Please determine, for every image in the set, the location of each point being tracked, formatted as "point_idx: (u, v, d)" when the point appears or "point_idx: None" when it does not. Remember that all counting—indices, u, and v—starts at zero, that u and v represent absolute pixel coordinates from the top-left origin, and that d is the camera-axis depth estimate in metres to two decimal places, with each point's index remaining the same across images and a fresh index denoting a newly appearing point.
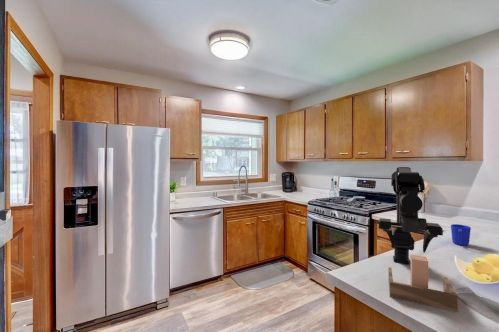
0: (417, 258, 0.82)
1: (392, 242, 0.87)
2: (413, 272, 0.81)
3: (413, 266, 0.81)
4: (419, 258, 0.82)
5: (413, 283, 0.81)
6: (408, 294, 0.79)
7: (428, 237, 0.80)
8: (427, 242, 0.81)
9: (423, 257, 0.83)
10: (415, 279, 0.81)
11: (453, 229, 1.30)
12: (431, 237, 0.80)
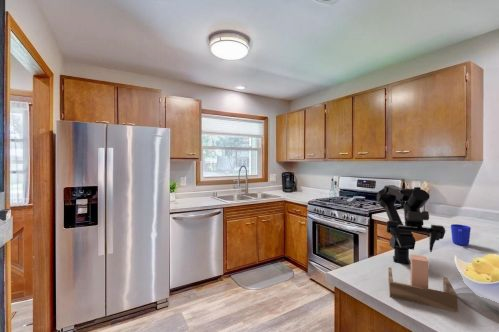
0: (417, 258, 0.82)
1: (400, 240, 0.92)
2: (413, 272, 0.81)
3: (413, 266, 0.81)
4: (419, 258, 0.82)
5: (413, 283, 0.81)
6: (408, 294, 0.79)
7: (432, 234, 0.88)
8: (432, 240, 0.88)
9: (423, 257, 0.83)
10: (415, 279, 0.81)
11: (453, 229, 1.30)
12: (435, 234, 0.88)
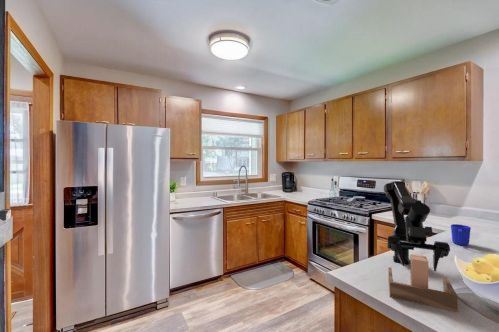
0: (417, 258, 0.82)
1: (402, 258, 0.86)
2: (413, 272, 0.81)
3: (413, 266, 0.81)
4: (419, 258, 0.82)
5: (413, 283, 0.81)
6: (408, 294, 0.79)
7: (436, 251, 0.83)
8: (436, 258, 0.82)
9: (423, 257, 0.83)
10: (415, 279, 0.81)
11: (453, 229, 1.30)
12: (439, 251, 0.82)
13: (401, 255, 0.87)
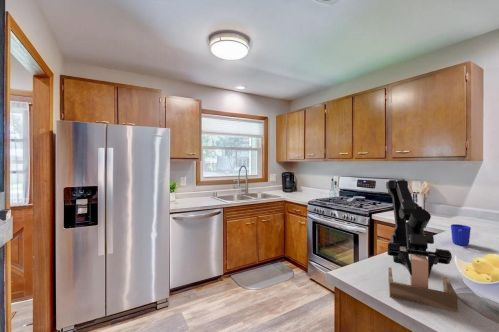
0: (417, 258, 0.82)
1: (409, 267, 0.83)
2: (413, 272, 0.81)
3: (413, 266, 0.81)
4: (419, 258, 0.82)
5: (413, 283, 0.81)
6: (408, 294, 0.79)
7: (430, 258, 0.82)
8: (430, 265, 0.81)
9: (423, 257, 0.83)
10: (415, 279, 0.81)
11: (453, 229, 1.30)
12: (433, 258, 0.81)
13: (409, 264, 0.84)
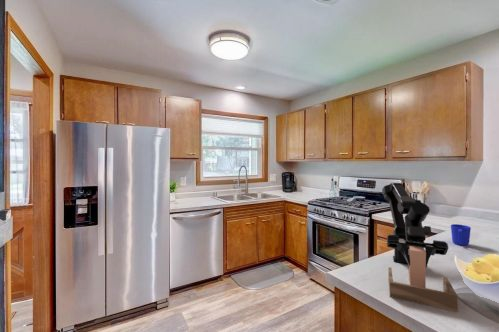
0: (415, 249, 0.86)
1: (408, 257, 0.87)
2: (411, 262, 0.85)
3: (411, 257, 0.85)
4: (417, 249, 0.86)
5: (411, 273, 0.85)
6: (408, 294, 0.79)
7: (427, 249, 0.86)
8: (427, 256, 0.85)
9: (421, 248, 0.86)
10: (413, 269, 0.85)
11: (453, 229, 1.30)
12: (430, 249, 0.85)
13: (407, 255, 0.88)
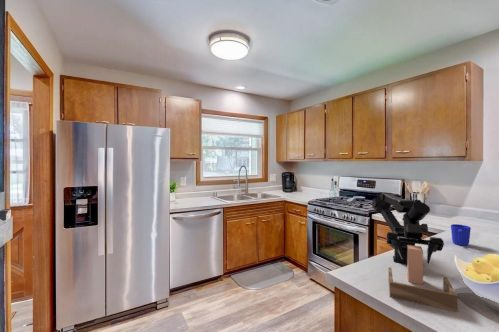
0: (413, 248, 0.91)
1: (401, 252, 0.94)
2: (409, 260, 0.91)
3: (409, 255, 0.91)
4: (415, 248, 0.91)
5: (409, 270, 0.91)
6: (408, 294, 0.79)
7: (430, 246, 0.91)
8: (430, 252, 0.90)
9: (418, 247, 0.92)
10: (411, 266, 0.91)
11: (453, 229, 1.30)
12: (432, 246, 0.90)
13: (400, 250, 0.94)
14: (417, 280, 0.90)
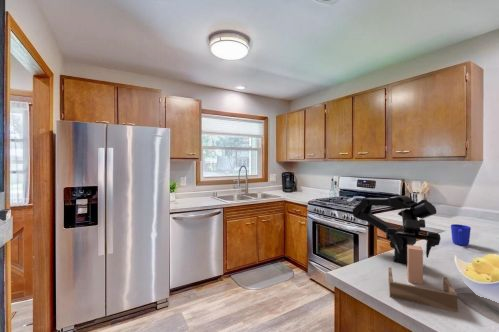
0: (413, 248, 0.91)
1: (398, 246, 0.98)
2: (409, 260, 0.91)
3: (409, 255, 0.91)
4: (415, 248, 0.91)
5: (409, 270, 0.91)
6: (408, 294, 0.79)
7: (429, 241, 0.95)
8: (429, 246, 0.94)
9: (418, 247, 0.92)
10: (411, 266, 0.91)
11: (453, 229, 1.30)
12: (431, 240, 0.94)
13: (398, 244, 0.99)
14: (417, 280, 0.90)
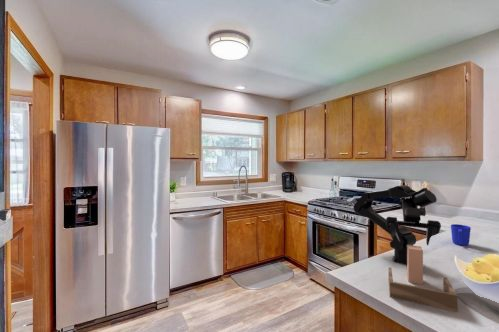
0: (413, 248, 0.91)
1: (399, 235, 0.98)
2: (409, 260, 0.91)
3: (409, 255, 0.91)
4: (415, 248, 0.91)
5: (409, 270, 0.91)
6: (408, 294, 0.79)
7: (429, 228, 0.95)
8: (429, 234, 0.94)
9: (418, 247, 0.92)
10: (411, 266, 0.91)
11: (453, 229, 1.30)
12: (431, 228, 0.94)
13: (398, 233, 0.99)
14: (417, 280, 0.90)
